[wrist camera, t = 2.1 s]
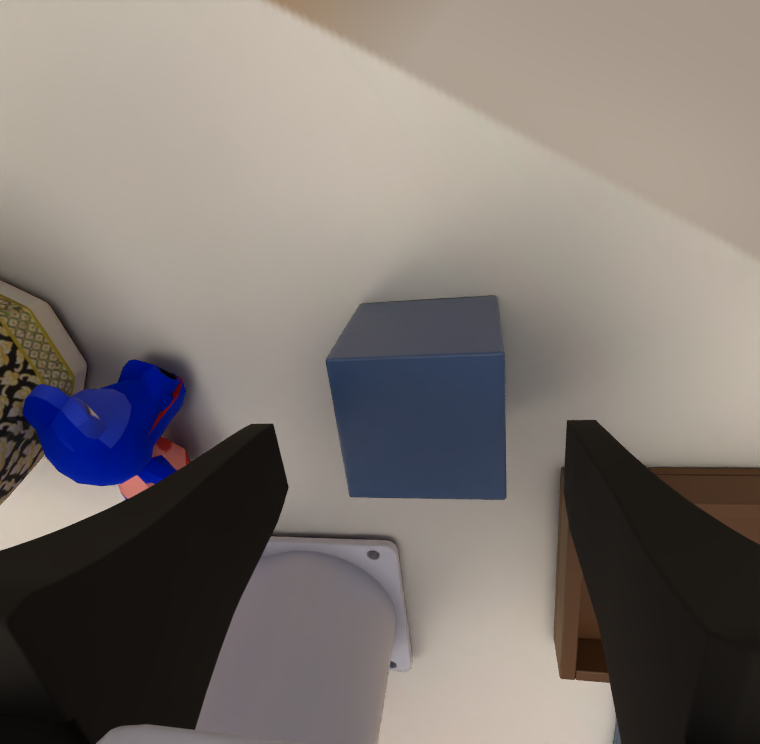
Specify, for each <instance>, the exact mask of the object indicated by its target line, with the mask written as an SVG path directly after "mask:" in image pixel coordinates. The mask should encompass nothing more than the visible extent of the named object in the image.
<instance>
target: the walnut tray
mask: <svg viewBox="0 0 760 744" xmlns="http://www.w3.org/2000/svg"><path fill="white" fill-rule="evenodd" d="M648 469H649V470H650V471H651V472H653V473H654V474H655V475H656V476H657V477H659V478H660V479H661V480H662V481H664V482H665V483H666V484H668V485H669V486H670V487H672V488H673V489H674V490H675V491H677V492H678V493H679V494H681V495H682V496H683V497H685V498H686V499H687V500H689V501H690V502H692V503H693V504H695V505H696V506H697V507H699V508H700V509H702V510H703V511H705V512H707V513H708V514H710V515H711V516H713V517H714V518H716V519H717V520H719V521H720V522H722V523H723V524H725V525H727V526H728V527H730V528H731V529H733V530H735V531H737V532H738V533H740V534H742V535H743V536H745V537H747V538H748V539H750V540H752V541H754V542H756V543H758V544H759V545H760V468H648ZM564 471H565V467H562V468H561V485H560V507H559V530H558V552H557V575H556V597H555V620H554V643H555V649H556V656H557V662H558V669H559V675H560V678H561V679H570V680H575V678H576V680H583V681H595V682H607V683H610V680H609V674H608V669H607V664H606V659H605V654H604V649H603V644H602V639H601V635H600V631H599V627H598V623H597V619H596V616H595V612H594V609H593V606H592V603H591V599H590V596H589V593H588V589H587V586H586V583H585V579H584V576H583V573H582V570H581V566H580V563H579V560H578V556H577V553H576V549H575V546H574V543H573V539H572V536H571V532H570V528H569V522H568V517H567V511H566V504H565V498H564Z"/></svg>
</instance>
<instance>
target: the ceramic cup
mask: <svg viewBox="0 0 760 744" xmlns="http://www.w3.org/2000/svg"><path fill="white" fill-rule="evenodd" d="M86 371H87V363H86V361H85V360H84V358H83V357H82V355H81V353H80V352H79V350H78V349H77V347H76V346H75V344H74V343H73V341H72V339H71V338H70V336H69V335H68V333H67V332H66V330H65V328H64V327H63V325H62V324H61V322H60V321H59V319H58V318H57V316H56V314H55V313H54V311H53V310H52V308H51V307H50V305H49V304H48V303H46V302H45V301H43V300H41V299H39V298H37V297H35V296H32V295H30V294H28V293H26V292H24V291H22V290H20V289H18V288H16V287H14V286H11V285H9V284H7V283H5V282H3V281H1V280H0V505H1V504H2V503H3V502H4V501H5V500H6V499H7V498H8V497H9V495H10V494H11V493H12V492H13V491H14V490H15V488H16V487H17V486H18V485H19V484H20V483H21V482H22V480H23V479H24V478H25V477H26V476H27V475H28V474H29V472H30V471H31V470H32V469H33V468H34V467H35V465H36V464H37V463H38V462H39V461H40V460H41V459H42V457H43V456H44V455H45V454H44V451H43V448H42V446H41V443H40V440H39V438H38V435H37V432H36V430H35V429H34V428H33V427H32V426H31V425H30V423H29V422H28V421H27V420H26V418H25V417H24V416H23V414H22V412H23V407H24V402H25V399H26V397H27V396H28V395H29V394H30V393H31V391H32V390H33V389H34V388H35V386H37V385H40V384H44V385H48V386H53V387H57V388H60V389H61V390H62V391H63V392H64V393H65V394H66V395H67V396H69V397H70V396H72V395H74V394H76V393H78V392H80V391H82V390H83V388H84V383H85V377H86Z"/></svg>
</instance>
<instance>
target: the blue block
mask: <svg viewBox="0 0 760 744" xmlns="http://www.w3.org/2000/svg"><path fill="white" fill-rule="evenodd" d="M326 366H327V371H328V377H329V383H330V388H331V394H332V400H333V405H334V411H335V417H336V422H337V428H338V433H339V439H340V445H341V450H342V456H343V462H344V467H345V473H346V479H347V484H348V490H349V495H350V497H368V498H425V499H482V500H505V499H506V416H505V352H504V344H503V336H502V329H501V321H500V313H499V305H498V298H497V296H481V297H465V298H448V299H432V300H415V301H398V302H382V303H365V304H360V305H359V306H358V308H357V310H356V311H355V313H354V315H353V316H352V318H351V319H350V321H349V323H348V324H347V326H346V327H345V329H344V331H343V332H342V334H341V336H340V337H339V339H338V340H337V342H336V344H335V345H334V347H333V348H332V350H331V352H330V353H329V355H328V357H327V358H326Z"/></svg>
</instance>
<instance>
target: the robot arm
mask: <svg viewBox="0 0 760 744" xmlns="http://www.w3.org/2000/svg"><path fill="white" fill-rule="evenodd" d="M288 488H289V487H288V483H287V479H286V475H285V470H284V466H283V462H282V458H281V454H280V450H279V446H278V441H277V437H276V433H275V429H274V425H273V424H250V425H249V426H247V427H245V428H243V429H241V430H240V431H238V432H236V433H235V434H233V435H231V436H230V437H228V438H227V439H225V440H224V441H222V442H221V443H219V444H218V445H216V446H215V447H213V448H212V449H210V450H209V451H207V452H205V453H204V454H202V455H201V456H199V457H198V458H196V459H195V460H193V461H192V462H190V463H189V464H187V465H186V466H184V467H182V468H181V469H179V470H177V471H176V472H174V473H172V474H171V475H169V476H167V477H166V478H164V479H162V480H161V481H159V482H158V483H156V484H154V485H153V486H151V487H149V488H147V489H145V490H144V491H142V492H140V493H138V494H136V495H134V496H133V497H131V498H129V499H127V500H125V501H123V502H121V503H119V504H117V505H115V506H113V507H111V508H109V509H107V510H104V511H102V512H100V513H98V514H95V515H93V516H91V517H88V518H86V519H84V520H81V521H79V522H77V523H75V524H72V525H70V526H68V527H65V528H63V529H60V530H58V531H55V532H53V533H50V534H47V535H45V536H42V537H39V538H37V539H34V540H31V541H28V542H25V543H22V544H19V545H17V546H14V547H11V548H8V549H5V550H1V551H0V744H378V738H379V732H380V725H381V719H382V713H383V706H384V700H385V693H386V687H387V680H388V674H389V671H400V672H406V671H409V670H410V669H411V668H412V661H413V658H412V650H411V643H410V635H409V628H408V620H407V613H406V606H405V598H404V591H403V583H402V576H401V568H400V561H399V553H398V548H397V546H396V545H395V544H394V543H392V542H390V541H386V540H362V539H333V538H303V537H274V536H271V535H272V533H273V531H274V529H275V527H276V524H277V522H278V519H279V517H280V514H281V511H282V508H283V505H284V501H285V498H286V494H287V491H288ZM564 498H565V504H566V511H567V517H568V522H569V528H570V532H571V536H572V539H573V543H574V546H575V549H576V553H577V556H578V560H579V563H580V566H581V570H582V573H583V576H584V579H585V583H586V586H587V589H588V593H589V596H590V599H591V603H592V606H593V609H594V612H595V616H596V619H597V623H598V627H599V631H600V635H601V639H602V644H603V649H604V654H605V659H606V664H607V669H608V674H609V680H610V685H611V690H612V696H613V701H614V707H615V712H616V718H617V723H618V729H619V734H620V740H621V744H760V545H759V544H758V543H756V542H754V541H752V540H750V539H748V538H747V537H745V536H743V535H742V534H740V533H738V532H737V531H735V530H733V529H731V528H730V527H728V526H727V525H725V524H723V523H722V522H720V521H719V520H717V519H716V518H714V517H713V516H711V515H710V514H708V513H707V512H705V511H703V510H702V509H700V508H699V507H697V506H696V505H695V504H693V503H692V502H690V501H689V500H687V499H686V498H685V497H683V496H682V495H681V494H679V493H678V492H677V491H675V490H674V489H673V488H672V487H670V486H669V485H668V484H666V483H665V482H664V481H662V480H661V479H660V478H659V477H657V476H656V475H655V474H654V473H653V472H651V471H650V470H649V469H648V468H647V467H646V466H644V465H643V464H642V463H641V462H640V461H639V460H637V459H636V458H635V457H634V456H633V455H632V454H631V453H630V452H629V451H628V450H627V449H625V448H624V447H623V446H622V445H621V444H620V443H619V442H618V441H617V440H616V439H615V438H614V437H613V436H612V435H611V434H610V433H609V432H608V431H606V430H605V429H604V428H603V427H602V426H601V425H600V424H599V423H598V422H597V421H596V420H567V430H566V451H565V471H564ZM371 550H373V551H376V552H377V553H375V552H372V551H371Z"/></svg>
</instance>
